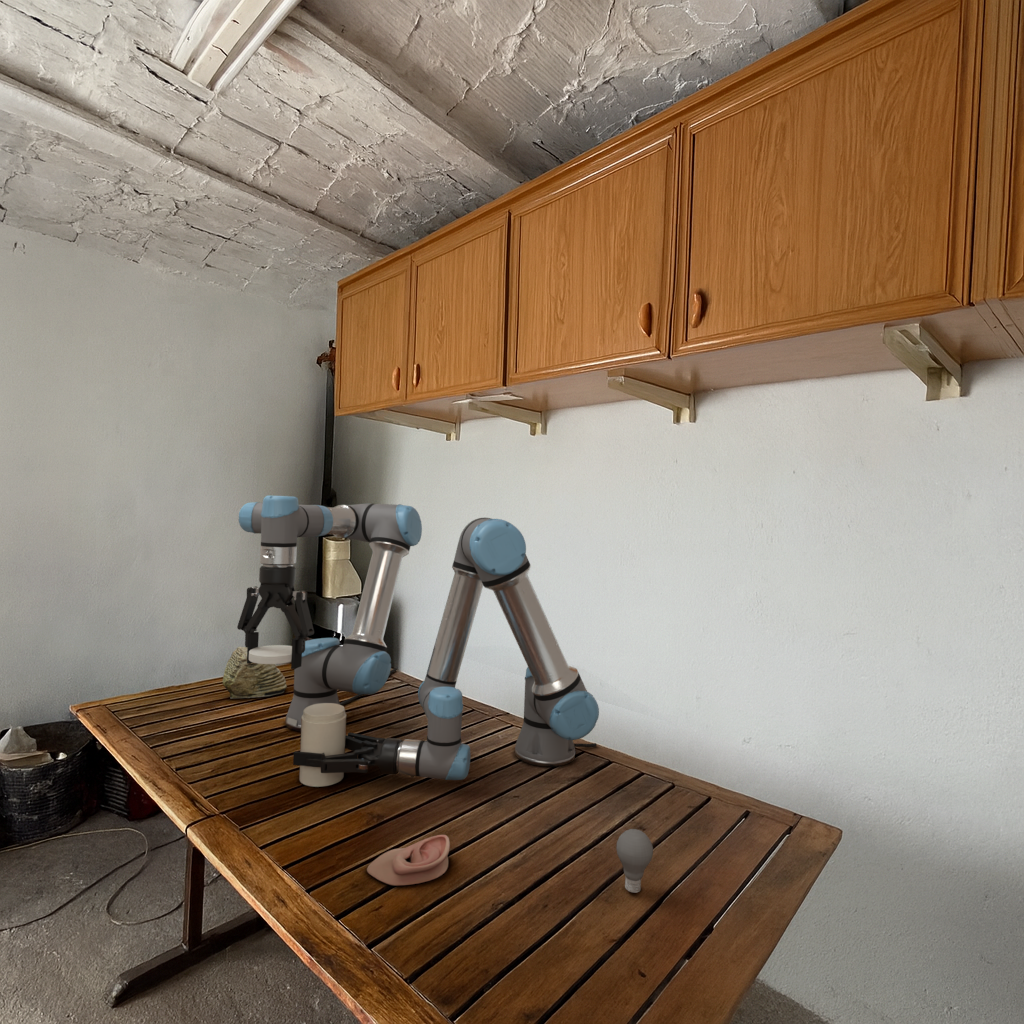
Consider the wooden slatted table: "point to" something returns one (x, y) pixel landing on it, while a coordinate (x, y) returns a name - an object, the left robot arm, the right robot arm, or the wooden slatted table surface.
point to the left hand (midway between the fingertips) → (274, 664)
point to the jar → (322, 740)
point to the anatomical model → (412, 862)
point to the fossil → (251, 677)
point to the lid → (271, 654)
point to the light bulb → (634, 857)
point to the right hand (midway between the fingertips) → (304, 748)
